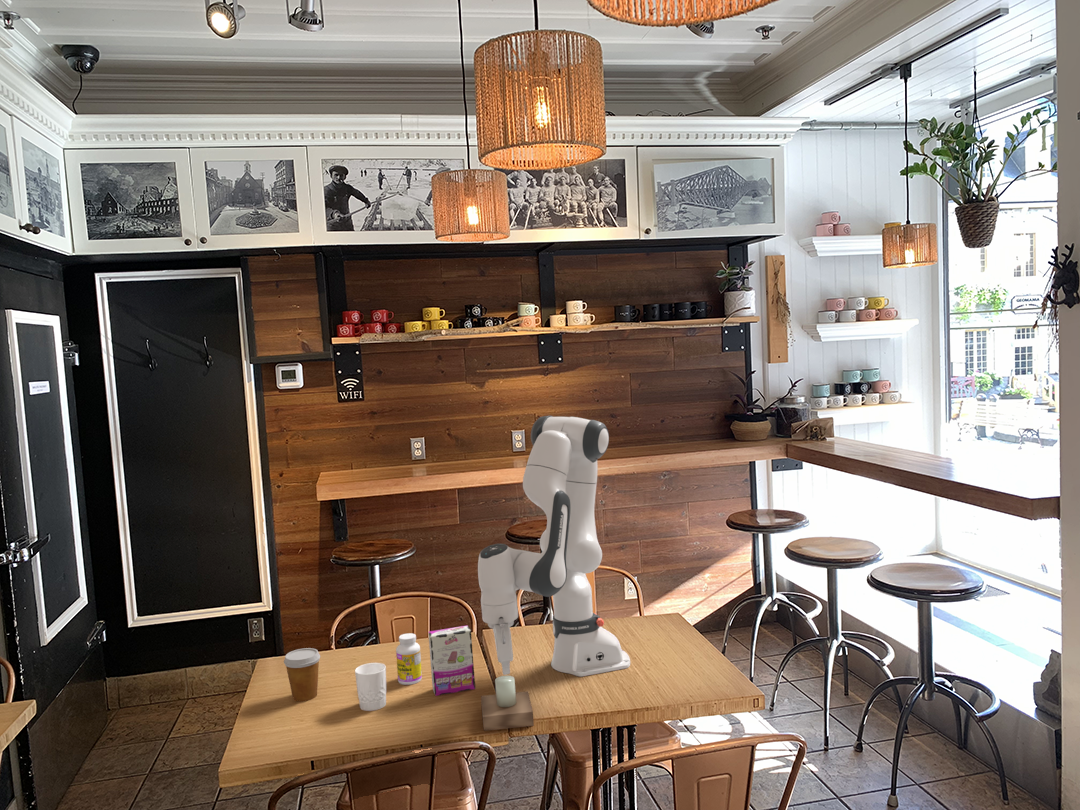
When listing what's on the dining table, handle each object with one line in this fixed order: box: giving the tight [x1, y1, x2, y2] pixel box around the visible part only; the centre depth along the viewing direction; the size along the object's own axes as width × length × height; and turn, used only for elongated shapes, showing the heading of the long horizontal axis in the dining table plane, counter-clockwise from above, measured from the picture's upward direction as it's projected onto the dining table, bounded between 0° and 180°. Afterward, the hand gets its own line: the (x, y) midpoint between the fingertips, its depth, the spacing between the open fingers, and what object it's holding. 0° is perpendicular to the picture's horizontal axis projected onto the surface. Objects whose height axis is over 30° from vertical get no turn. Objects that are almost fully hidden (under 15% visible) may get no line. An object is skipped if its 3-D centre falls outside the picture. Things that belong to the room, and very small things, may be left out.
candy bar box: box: [427, 625, 476, 697], centre depth 219 cm, size 11×5×16 cm, turn 106°
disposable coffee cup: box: [283, 647, 321, 702], centre depth 220 cm, size 10×10×12 cm
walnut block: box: [480, 690, 535, 732], centre depth 201 cm, size 12×12×4 cm
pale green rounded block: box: [494, 675, 517, 707], centre depth 201 cm, size 5×5×6 cm
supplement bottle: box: [395, 632, 423, 686], centre depth 227 cm, size 7×7×13 cm
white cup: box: [354, 662, 387, 712], centre depth 212 cm, size 8×8×10 cm
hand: (505, 665), depth 201 cm, fingers open, 8 cm apart
